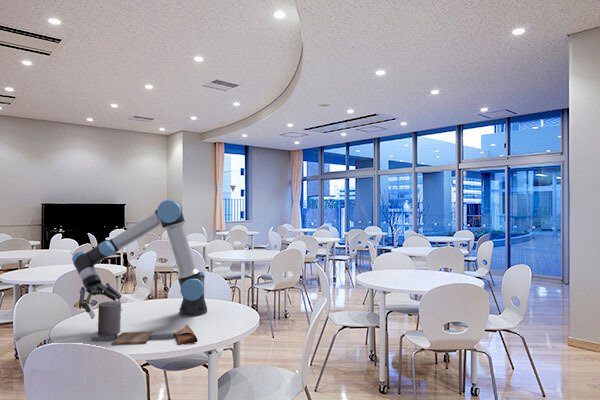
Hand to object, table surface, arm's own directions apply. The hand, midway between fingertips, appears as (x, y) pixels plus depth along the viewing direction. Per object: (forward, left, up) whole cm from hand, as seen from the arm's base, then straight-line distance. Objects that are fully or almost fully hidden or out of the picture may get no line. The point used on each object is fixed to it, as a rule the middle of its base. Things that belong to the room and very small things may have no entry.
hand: (107, 314), depth 190 cm
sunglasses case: (-37, +12, -9) cm, 40 cm away
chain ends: (-15, +11, -9) cm, 21 cm away
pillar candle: (-1, 0, -9) cm, 9 cm away
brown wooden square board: (-15, +11, -9) cm, 21 cm away
